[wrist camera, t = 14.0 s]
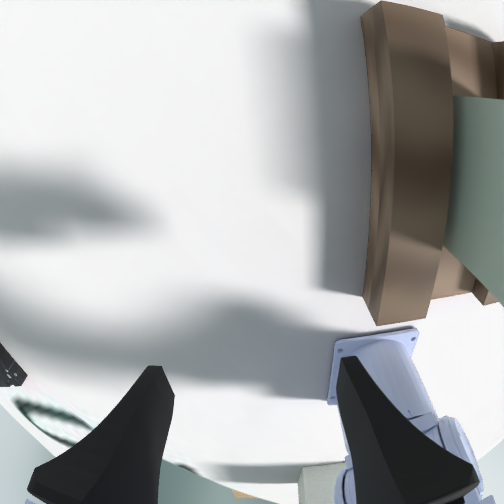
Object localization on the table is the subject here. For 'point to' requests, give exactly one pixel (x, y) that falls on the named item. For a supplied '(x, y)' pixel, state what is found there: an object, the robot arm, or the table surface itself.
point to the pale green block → (478, 191)
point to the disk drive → (10, 370)
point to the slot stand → (417, 154)
